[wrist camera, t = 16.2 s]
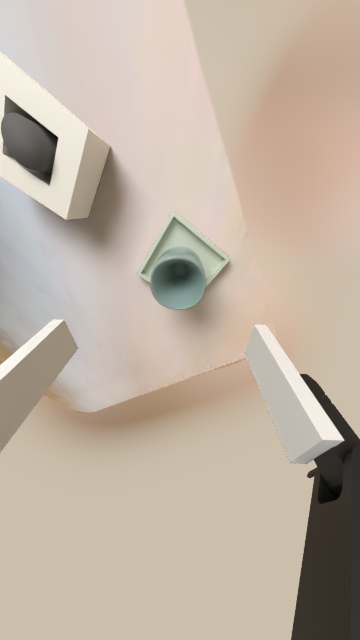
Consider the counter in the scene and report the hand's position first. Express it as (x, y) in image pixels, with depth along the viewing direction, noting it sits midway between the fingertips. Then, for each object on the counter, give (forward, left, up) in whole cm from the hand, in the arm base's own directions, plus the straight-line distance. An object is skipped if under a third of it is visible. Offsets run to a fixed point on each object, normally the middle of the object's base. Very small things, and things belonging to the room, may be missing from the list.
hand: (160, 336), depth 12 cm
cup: (+1, 0, -22) cm, 22 cm away
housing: (-20, +2, -22) cm, 30 cm away
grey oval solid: (-20, +2, -21) cm, 30 cm away
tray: (+2, 0, -22) cm, 22 cm away
